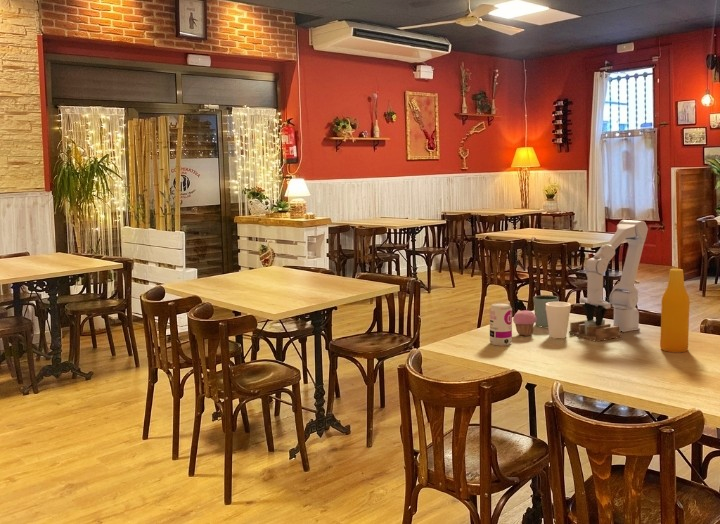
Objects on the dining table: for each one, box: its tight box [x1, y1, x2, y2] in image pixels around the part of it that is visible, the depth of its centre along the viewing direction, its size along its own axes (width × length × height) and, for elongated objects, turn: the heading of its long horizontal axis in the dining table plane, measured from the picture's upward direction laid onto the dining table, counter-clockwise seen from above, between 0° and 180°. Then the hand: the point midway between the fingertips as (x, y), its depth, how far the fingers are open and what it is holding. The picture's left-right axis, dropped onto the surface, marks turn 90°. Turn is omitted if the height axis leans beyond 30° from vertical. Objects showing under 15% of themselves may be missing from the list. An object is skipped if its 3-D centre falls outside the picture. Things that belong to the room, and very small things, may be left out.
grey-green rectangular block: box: [585, 319, 606, 334], centre depth 281 cm, size 8×2×5 cm, turn 116°
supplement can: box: [489, 302, 513, 347], centre depth 273 cm, size 8×8×15 cm
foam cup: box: [546, 301, 572, 339], centre depth 281 cm, size 10×9×13 cm
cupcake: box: [512, 309, 536, 337], centre depth 285 cm, size 9×9×10 cm
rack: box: [568, 319, 621, 342], centre depth 282 cm, size 12×15×4 cm
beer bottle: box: [659, 268, 691, 353], centre depth 257 cm, size 9×9×29 cm
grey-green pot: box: [532, 294, 559, 328], centre depth 301 cm, size 10×10×12 cm
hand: (594, 323), depth 281 cm, fingers open, 4 cm apart
